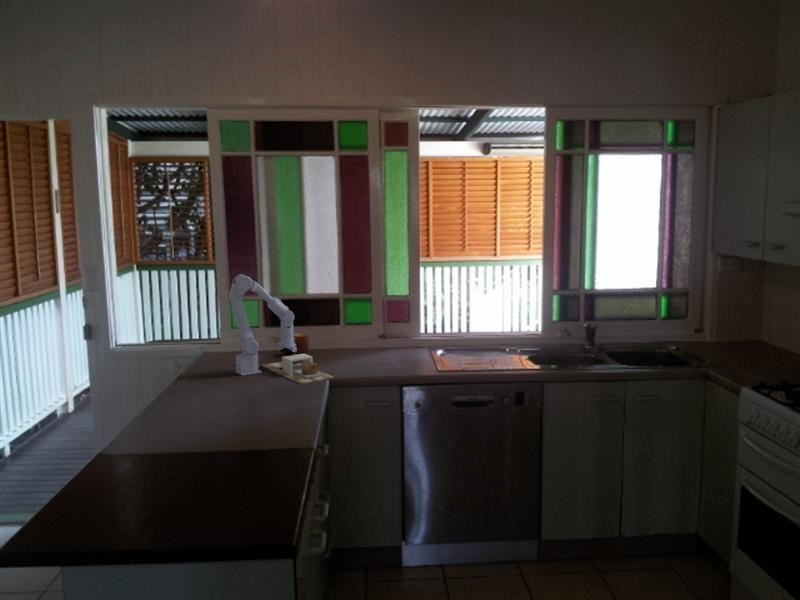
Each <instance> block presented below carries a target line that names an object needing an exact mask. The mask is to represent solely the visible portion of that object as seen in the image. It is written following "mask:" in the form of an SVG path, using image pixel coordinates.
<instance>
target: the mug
mask: <svg viewBox="0 0 800 600" xmlns="http://www.w3.org/2000/svg"><path fill="white" fill-rule="evenodd" d="M293 335H294V344H296V346H295V347H297V351H295V352H294V355H298V354H307V355H309V353H310V337H311V333H307V332H304V333H302V332H299V333H293Z"/></svg>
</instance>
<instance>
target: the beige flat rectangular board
mask: <svg viewBox="0 0 800 600" xmlns="http://www.w3.org/2000/svg"><path fill="white" fill-rule="evenodd" d="M298 365H301V366H302V362H301V363H300V362H298ZM261 367H263V368H265V369H267V370H269V371H271V372H274V373H275V374H278V375H279V376H282V377H284V378H286V379H289V380H290V381H293V382H295V383H297V384H299V385H303V384H308V383H315V382H319V381H320V382H321V381H324V380H325V381H326V380H331V379H334V376H333V375H330V374H328V373H325V372H323V371H320V370H318V373H320V374H321V376H318V377H312V378H307V379H306V378H304V377H302V376H300V375H297V374H295V373H293V375H290V374H287V373H285V372H283V367H282V361H278V362H272V363H266V364H261Z"/></svg>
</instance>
